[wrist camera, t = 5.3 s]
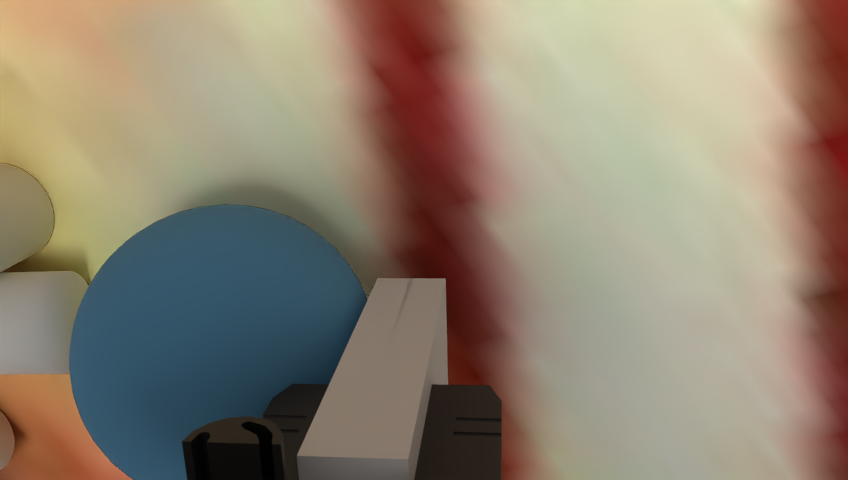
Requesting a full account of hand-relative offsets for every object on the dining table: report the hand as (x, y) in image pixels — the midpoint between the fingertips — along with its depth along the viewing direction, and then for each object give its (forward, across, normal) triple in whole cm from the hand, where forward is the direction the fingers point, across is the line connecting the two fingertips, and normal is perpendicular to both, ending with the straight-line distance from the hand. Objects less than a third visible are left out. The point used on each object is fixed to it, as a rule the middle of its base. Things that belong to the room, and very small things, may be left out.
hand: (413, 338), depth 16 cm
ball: (-1, +4, 0) cm, 4 cm away
